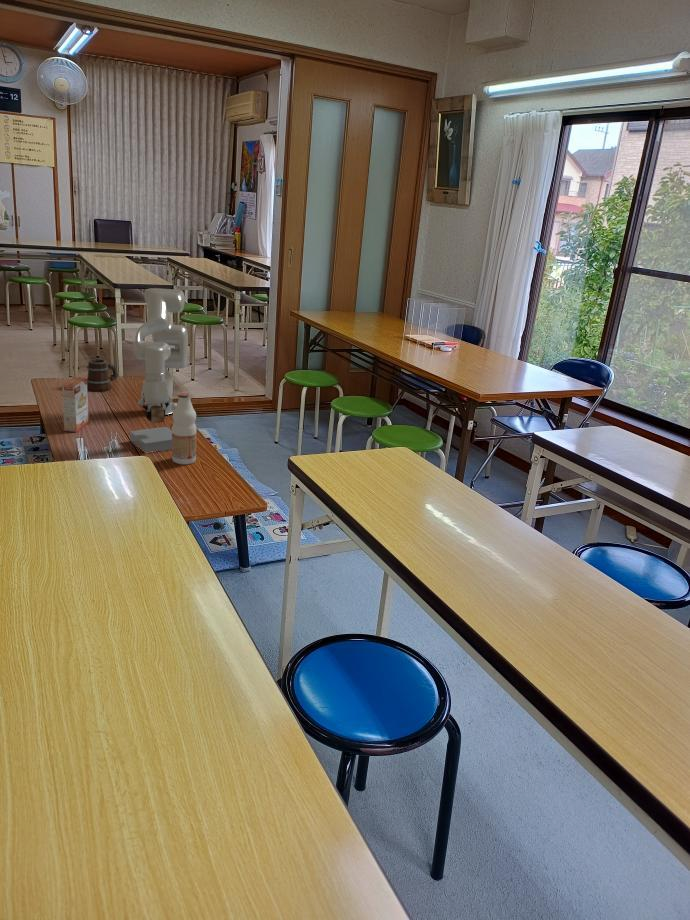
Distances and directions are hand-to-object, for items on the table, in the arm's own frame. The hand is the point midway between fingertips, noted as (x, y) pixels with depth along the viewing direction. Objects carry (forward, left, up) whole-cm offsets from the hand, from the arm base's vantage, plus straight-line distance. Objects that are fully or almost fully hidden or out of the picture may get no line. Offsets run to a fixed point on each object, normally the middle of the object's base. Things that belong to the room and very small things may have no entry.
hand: (155, 418), depth 281 cm
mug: (-8, -88, -12) cm, 89 cm away
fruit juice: (-3, +21, -12) cm, 24 cm away
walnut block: (0, 0, -1) cm, 1 cm away
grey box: (0, 0, -12) cm, 12 cm away
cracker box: (+22, -34, -12) cm, 42 cm away
